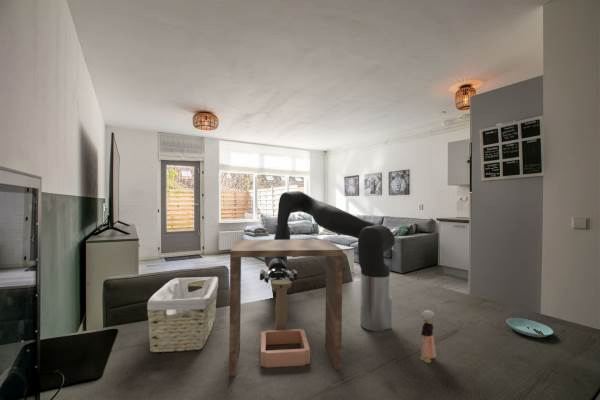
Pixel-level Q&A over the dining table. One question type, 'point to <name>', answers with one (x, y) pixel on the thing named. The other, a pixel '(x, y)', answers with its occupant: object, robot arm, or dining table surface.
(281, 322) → the handle
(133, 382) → the dining table surface
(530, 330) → the saucer
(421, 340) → the grandmother figurine
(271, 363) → the socket
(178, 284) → the storage basket
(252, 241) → the wooden footstool
